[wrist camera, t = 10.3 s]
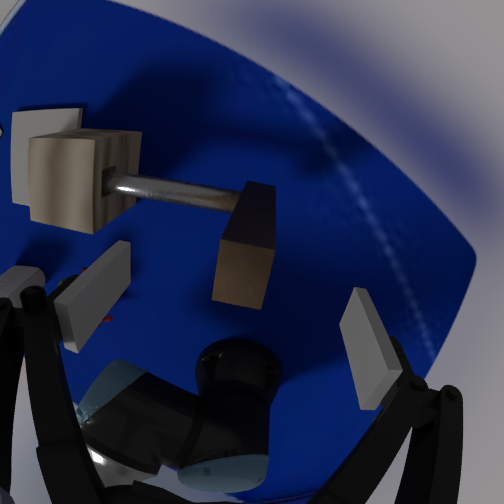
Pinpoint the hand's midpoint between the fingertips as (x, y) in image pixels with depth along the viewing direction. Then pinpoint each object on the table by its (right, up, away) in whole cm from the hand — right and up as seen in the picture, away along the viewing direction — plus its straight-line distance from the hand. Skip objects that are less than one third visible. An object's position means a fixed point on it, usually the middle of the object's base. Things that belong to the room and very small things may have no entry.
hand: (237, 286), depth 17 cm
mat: (-32, +17, +20) cm, 41 cm away
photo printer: (-43, -2, +30) cm, 52 cm away
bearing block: (-19, +14, +20) cm, 31 cm away
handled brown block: (-10, +10, +15) cm, 20 cm away
